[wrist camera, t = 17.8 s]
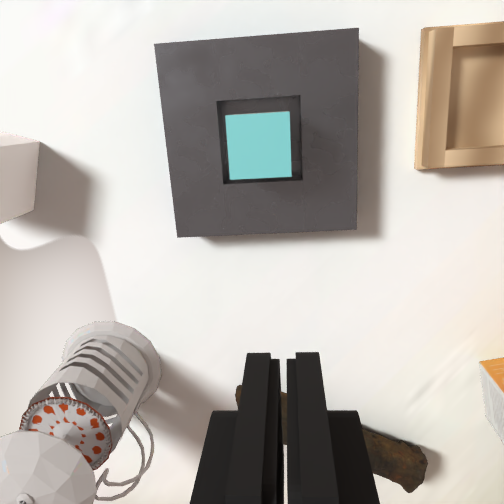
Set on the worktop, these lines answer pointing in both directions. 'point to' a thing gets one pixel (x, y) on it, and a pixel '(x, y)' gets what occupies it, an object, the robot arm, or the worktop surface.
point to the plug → (259, 145)
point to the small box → (493, 393)
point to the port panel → (259, 101)
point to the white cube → (17, 175)
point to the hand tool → (380, 454)
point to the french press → (80, 418)
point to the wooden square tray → (460, 97)
